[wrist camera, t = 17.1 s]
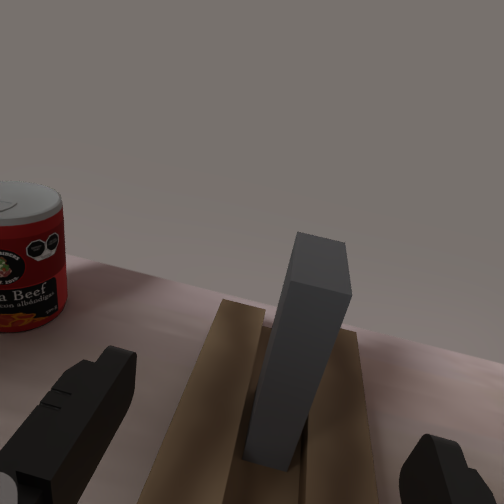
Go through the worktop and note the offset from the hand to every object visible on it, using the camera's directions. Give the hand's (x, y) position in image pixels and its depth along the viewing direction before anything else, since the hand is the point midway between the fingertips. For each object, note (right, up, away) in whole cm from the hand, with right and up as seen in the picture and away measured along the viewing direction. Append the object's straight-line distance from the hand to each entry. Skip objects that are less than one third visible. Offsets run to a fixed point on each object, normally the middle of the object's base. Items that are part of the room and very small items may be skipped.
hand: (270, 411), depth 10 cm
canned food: (-22, -1, +25) cm, 34 cm away
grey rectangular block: (+1, -8, +17) cm, 19 cm away
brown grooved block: (+1, -9, +17) cm, 20 cm away
